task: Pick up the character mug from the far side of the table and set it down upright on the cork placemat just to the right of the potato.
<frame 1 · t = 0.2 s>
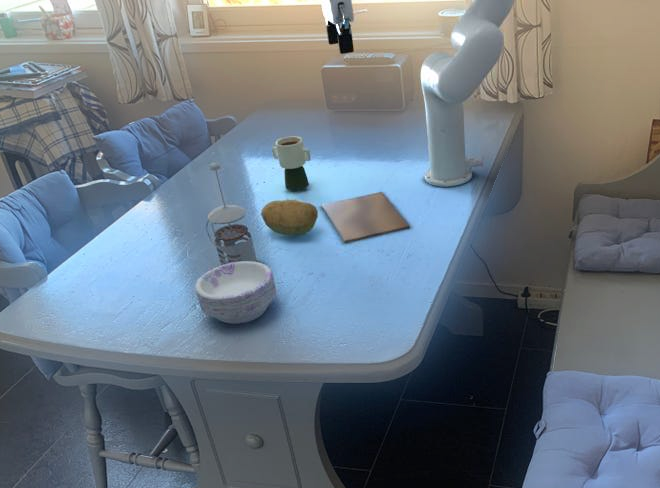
hand: (341, 48, 174), 37 cm above the table, tool pointing down, fingers open, 9 cm apart
potato: (292, 234, 182), on the table
character mug: (297, 188, 203), on the table
placemat: (364, 217, 186), on the table
french press: (238, 271, 169), on the table
paper bowls: (242, 312, 154), on the table
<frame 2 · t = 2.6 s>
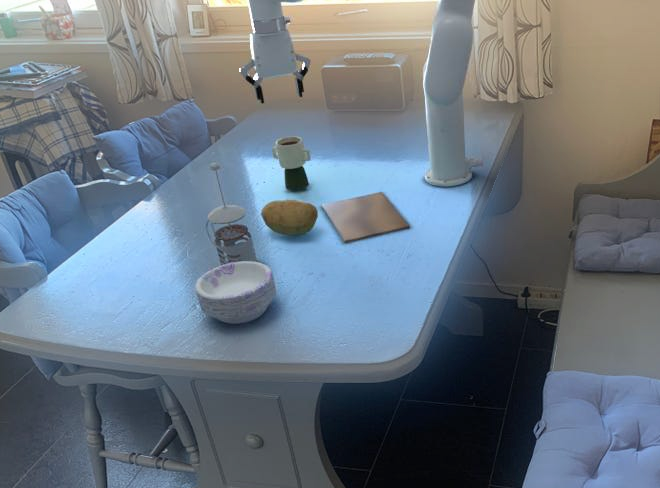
hand: (281, 98, 189), 24 cm above the table, tool pointing down, fingers open, 9 cm apart
nothing on the table moved.
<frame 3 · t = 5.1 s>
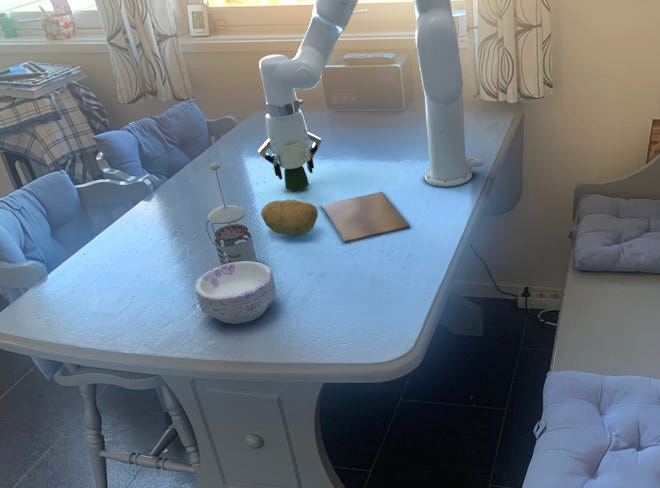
hand: (295, 174, 201), 4 cm above the table, tool pointing down, fingers closed on character mug, 7 cm apart
character mug: (297, 188, 203), on the table, touching gripper
everything else where it was.
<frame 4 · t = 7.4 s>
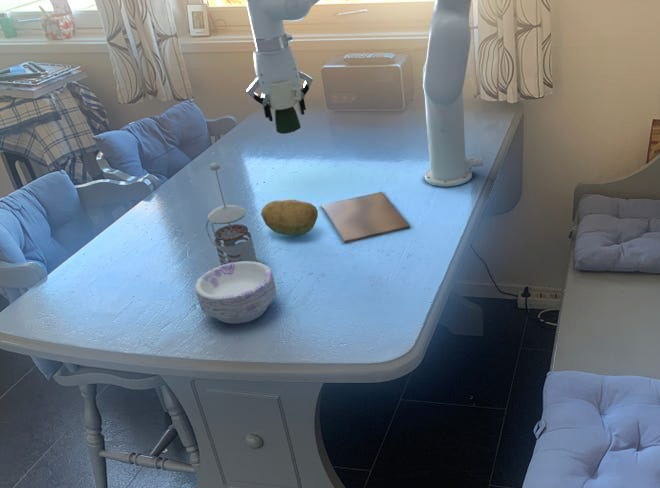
hand: (286, 116, 192), 19 cm above the table, tool pointing down, fingers closed on character mug, 7 cm apart
character mug: (289, 132, 194), point 15 cm above the table, touching gripper
everything else where it was.
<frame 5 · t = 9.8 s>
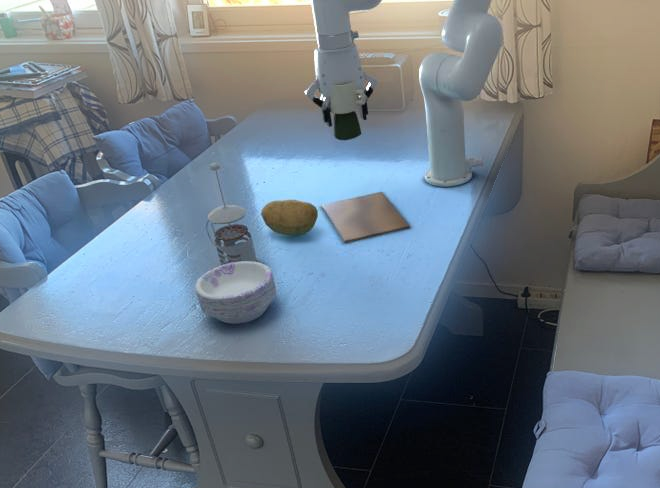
hand: (346, 121, 173), 23 cm above the table, tool pointing down, fingers closed on character mug, 7 cm apart
character mug: (348, 138, 176), point 19 cm above the table, touching gripper
everything else where it was.
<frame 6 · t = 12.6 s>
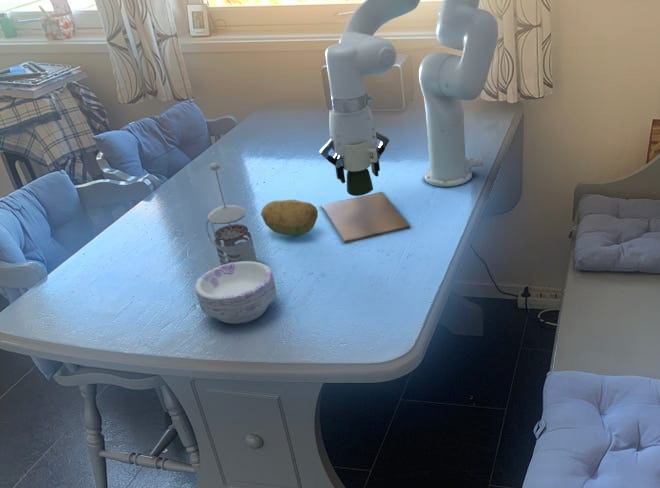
hand: (358, 177, 180), 10 cm above the table, tool pointing down, fingers closed on character mug, 7 cm apart
character mug: (360, 193, 182), point 6 cm above the table, touching gripper
everything else where it was.
when the fingers open (4 cm above the table, at t = 14.6 s): character mug stays where it is, resting on placemat.
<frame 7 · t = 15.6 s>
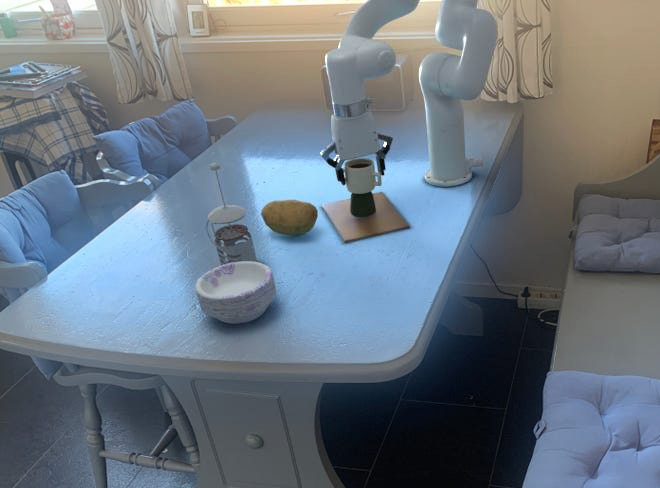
hand: (362, 178, 181), 10 cm above the table, tool pointing down, fingers open, 9 cm apart
character mug: (363, 215, 185), point 1 cm above the table, touching placemat
everything else where it was.
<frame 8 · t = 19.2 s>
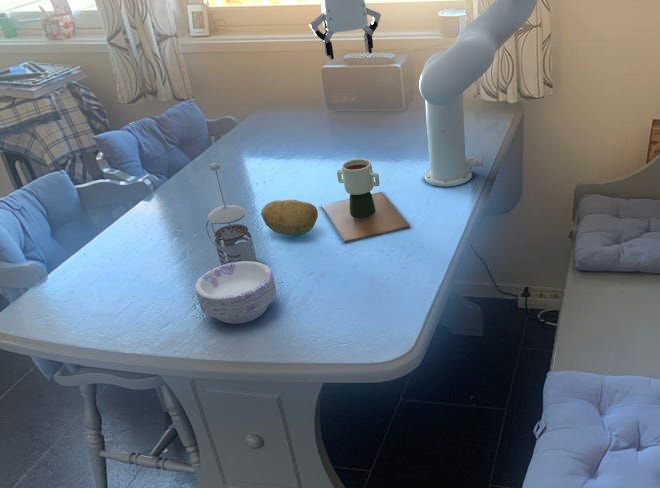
hand: (350, 55, 185), 32 cm above the table, tool pointing down, fingers open, 9 cm apart
nothing on the table moved.
at the end: character mug inside the target area on the table beside the potato (0.3 cm from its centre), point 0.6 cm above the table; character mug touching placemat; character mug tilted 0° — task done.
